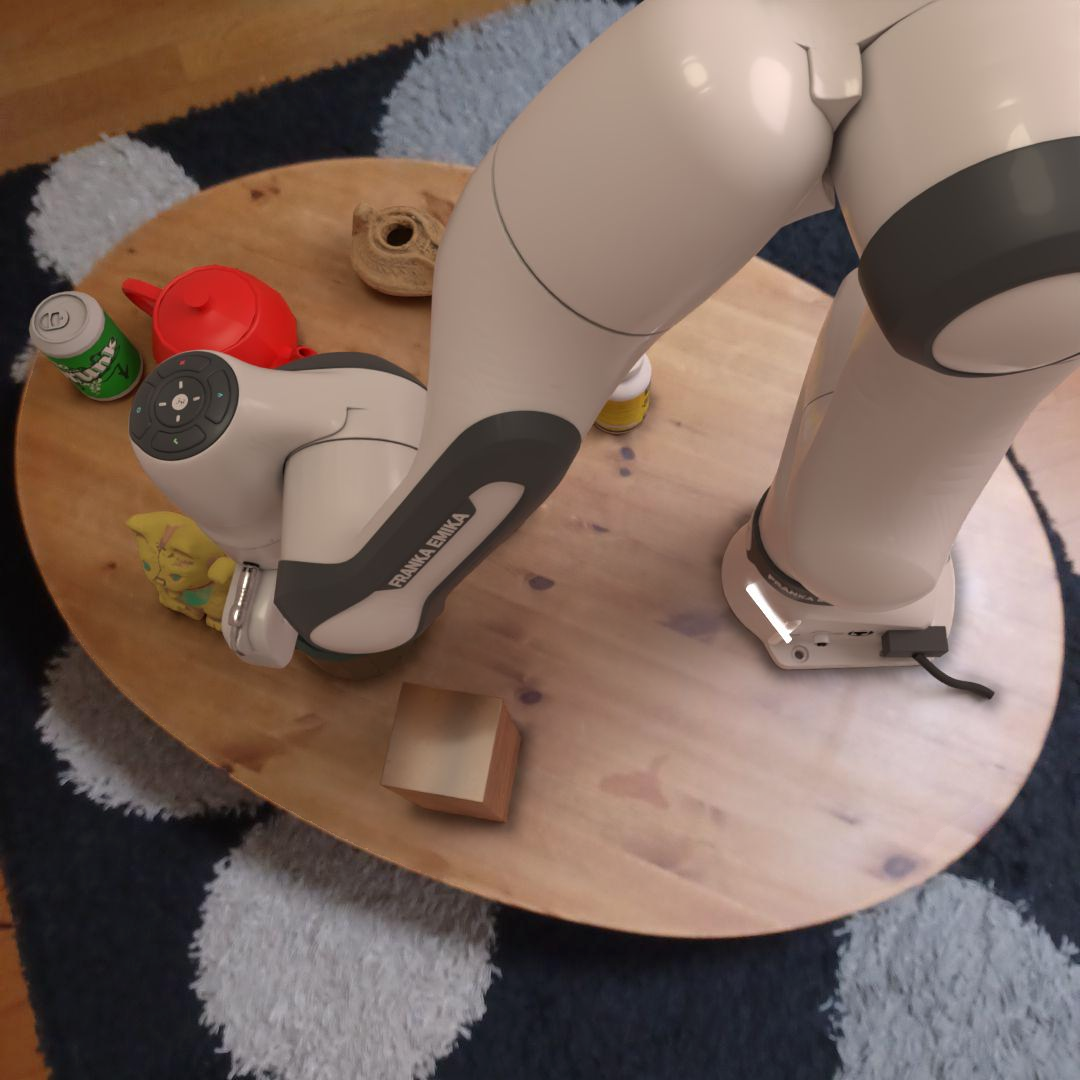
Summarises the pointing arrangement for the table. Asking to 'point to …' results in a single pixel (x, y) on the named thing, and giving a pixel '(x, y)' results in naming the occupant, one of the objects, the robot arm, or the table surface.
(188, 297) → the teapot
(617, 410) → the pill bottle
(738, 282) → the table surface
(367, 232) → the oil lamp
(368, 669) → the tin
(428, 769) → the stand
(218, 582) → the figurine
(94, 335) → the soda can
